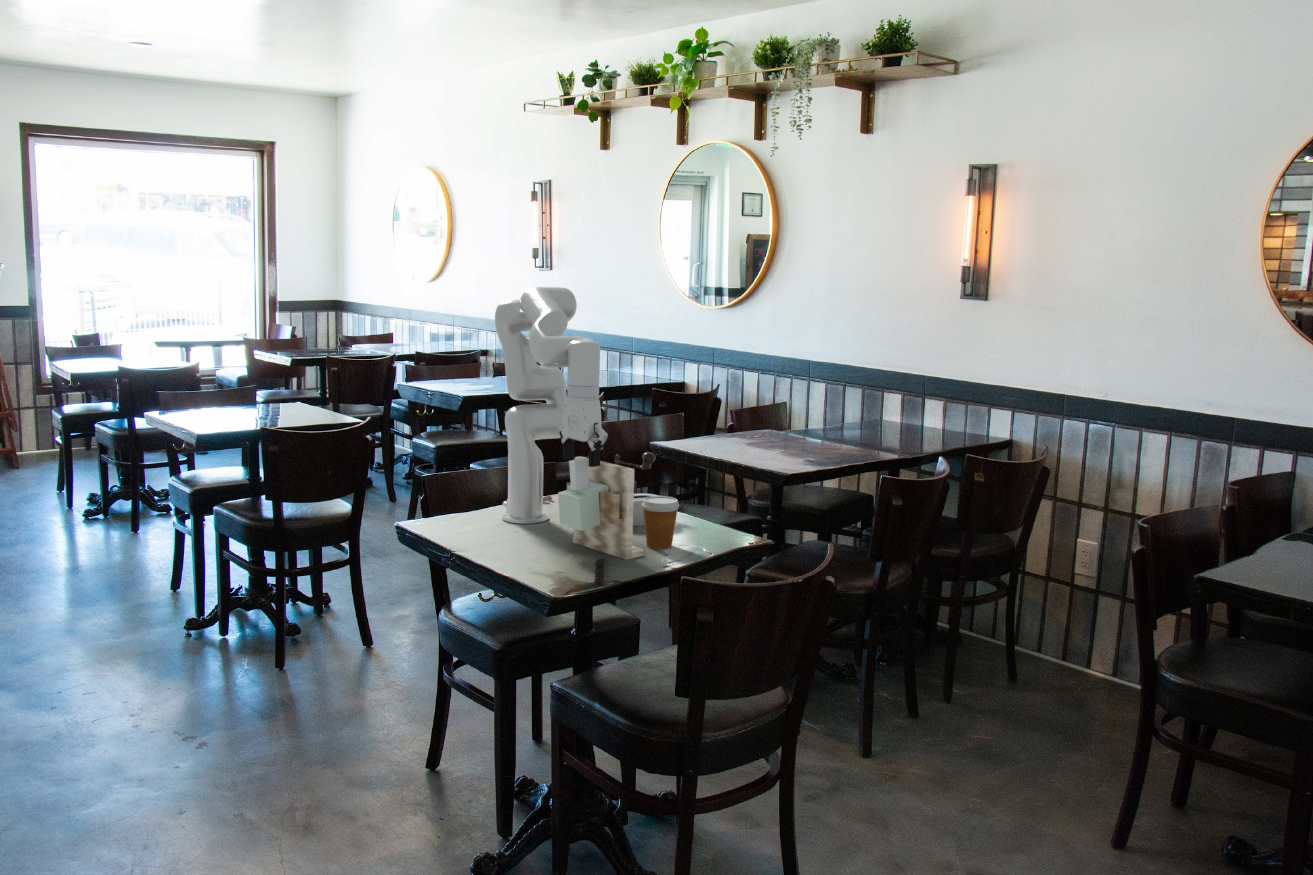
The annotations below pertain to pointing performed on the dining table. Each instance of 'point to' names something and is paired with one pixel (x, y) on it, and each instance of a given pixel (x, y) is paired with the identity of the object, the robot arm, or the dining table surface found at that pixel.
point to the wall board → (612, 512)
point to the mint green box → (580, 498)
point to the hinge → (639, 509)
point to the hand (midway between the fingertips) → (581, 462)
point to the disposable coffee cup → (660, 520)
